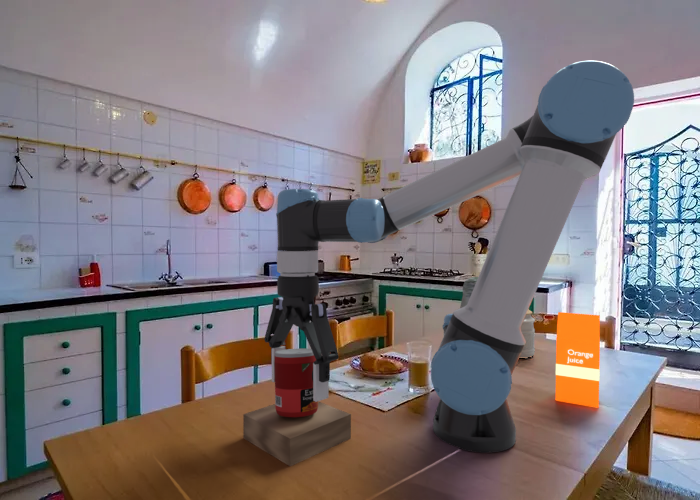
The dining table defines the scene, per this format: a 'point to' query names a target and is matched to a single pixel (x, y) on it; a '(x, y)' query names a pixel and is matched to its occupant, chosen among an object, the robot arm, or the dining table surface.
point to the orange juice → (578, 359)
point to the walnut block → (296, 432)
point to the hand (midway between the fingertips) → (298, 389)
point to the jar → (528, 335)
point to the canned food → (294, 383)
